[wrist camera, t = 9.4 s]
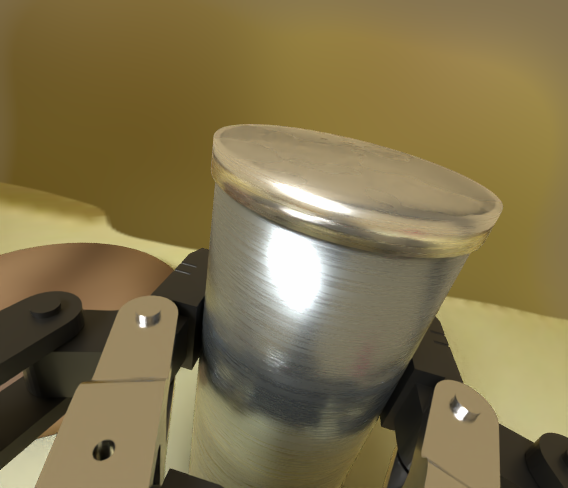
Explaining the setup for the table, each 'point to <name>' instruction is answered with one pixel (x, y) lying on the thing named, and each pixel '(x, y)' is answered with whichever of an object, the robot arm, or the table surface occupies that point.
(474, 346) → the table surface
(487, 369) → the table surface
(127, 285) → the disc
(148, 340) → the robot arm
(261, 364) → the grey can
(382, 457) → the table surface
